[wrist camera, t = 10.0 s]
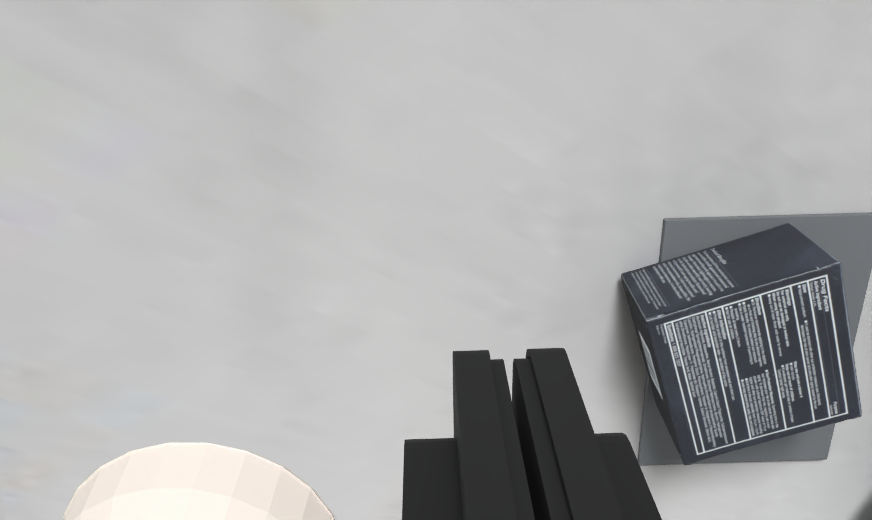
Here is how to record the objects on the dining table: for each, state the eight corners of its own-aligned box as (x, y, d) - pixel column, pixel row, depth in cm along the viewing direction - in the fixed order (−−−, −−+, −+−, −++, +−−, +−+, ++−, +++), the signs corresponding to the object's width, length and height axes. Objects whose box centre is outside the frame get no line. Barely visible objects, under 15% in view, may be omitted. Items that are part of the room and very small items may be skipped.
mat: (880, 212, 45) (884, 214, 44) (823, 455, 52) (826, 459, 51) (663, 218, 44) (665, 220, 44) (637, 461, 52) (639, 465, 51)
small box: (653, 405, 50) (813, 362, 48) (683, 470, 44) (866, 423, 42) (617, 268, 45) (791, 217, 44) (645, 320, 40) (846, 262, 38)
